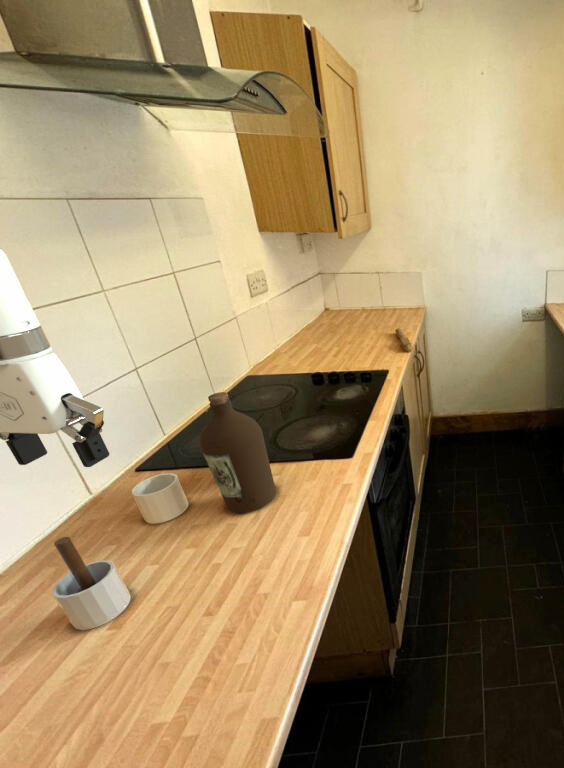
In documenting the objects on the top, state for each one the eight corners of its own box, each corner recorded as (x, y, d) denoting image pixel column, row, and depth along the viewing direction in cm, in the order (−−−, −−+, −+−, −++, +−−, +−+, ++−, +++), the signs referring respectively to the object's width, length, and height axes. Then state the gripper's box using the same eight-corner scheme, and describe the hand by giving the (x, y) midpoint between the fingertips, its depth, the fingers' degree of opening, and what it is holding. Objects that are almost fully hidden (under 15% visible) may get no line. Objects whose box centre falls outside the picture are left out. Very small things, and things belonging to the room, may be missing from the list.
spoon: (84, 616, 64) (41, 548, 59) (90, 606, 66) (49, 539, 60) (112, 608, 65) (73, 541, 60) (118, 599, 67) (80, 532, 61)
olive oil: (255, 480, 96) (223, 381, 86) (290, 489, 93) (261, 387, 83) (211, 509, 87) (170, 403, 77) (249, 521, 84) (211, 411, 74)
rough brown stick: (401, 327, 201) (412, 345, 175) (401, 333, 202) (413, 352, 177) (394, 328, 200) (404, 346, 174) (395, 334, 201) (405, 353, 175)
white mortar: (63, 636, 62) (40, 603, 59) (87, 598, 68) (68, 567, 65) (119, 621, 64) (100, 589, 61) (138, 586, 70) (121, 555, 67)
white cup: (138, 527, 82) (124, 499, 80) (153, 504, 89) (141, 477, 86) (181, 518, 85) (170, 490, 82) (193, 496, 91) (182, 470, 88)
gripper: (-100, 355, 49) (-23, 474, 56) (34, 357, 48) (96, 478, 55) (-21, 336, 56) (39, 444, 63) (98, 337, 55) (145, 447, 62)
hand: (65, 460), depth 59 cm, fingers open, 9 cm apart
